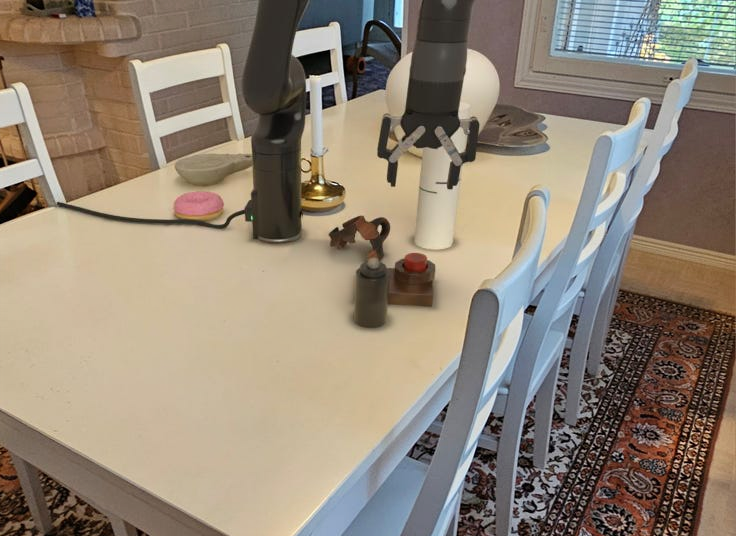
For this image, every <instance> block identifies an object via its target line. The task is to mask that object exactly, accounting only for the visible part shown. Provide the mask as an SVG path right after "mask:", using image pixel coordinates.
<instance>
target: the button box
mask: <svg viewBox="0 0 736 536" xmlns="http://www.w3.org/2000/svg"><path fill="white" fill-rule="evenodd" d="M404 259H405V257H404V258H401V259H398V261H396V262H395V263H394V267H386V269H388V270H389V272H390V280H389V293H388V305H391V306H392V305H394V306H409V307H427V308H431V307H433V299H434V280H435V277H436V275H435V274H436V264H435V262H432V260H429V259H427V265H426V270H424V271H419V272H416V271H409V270H406V269H404Z"/></svg>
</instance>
